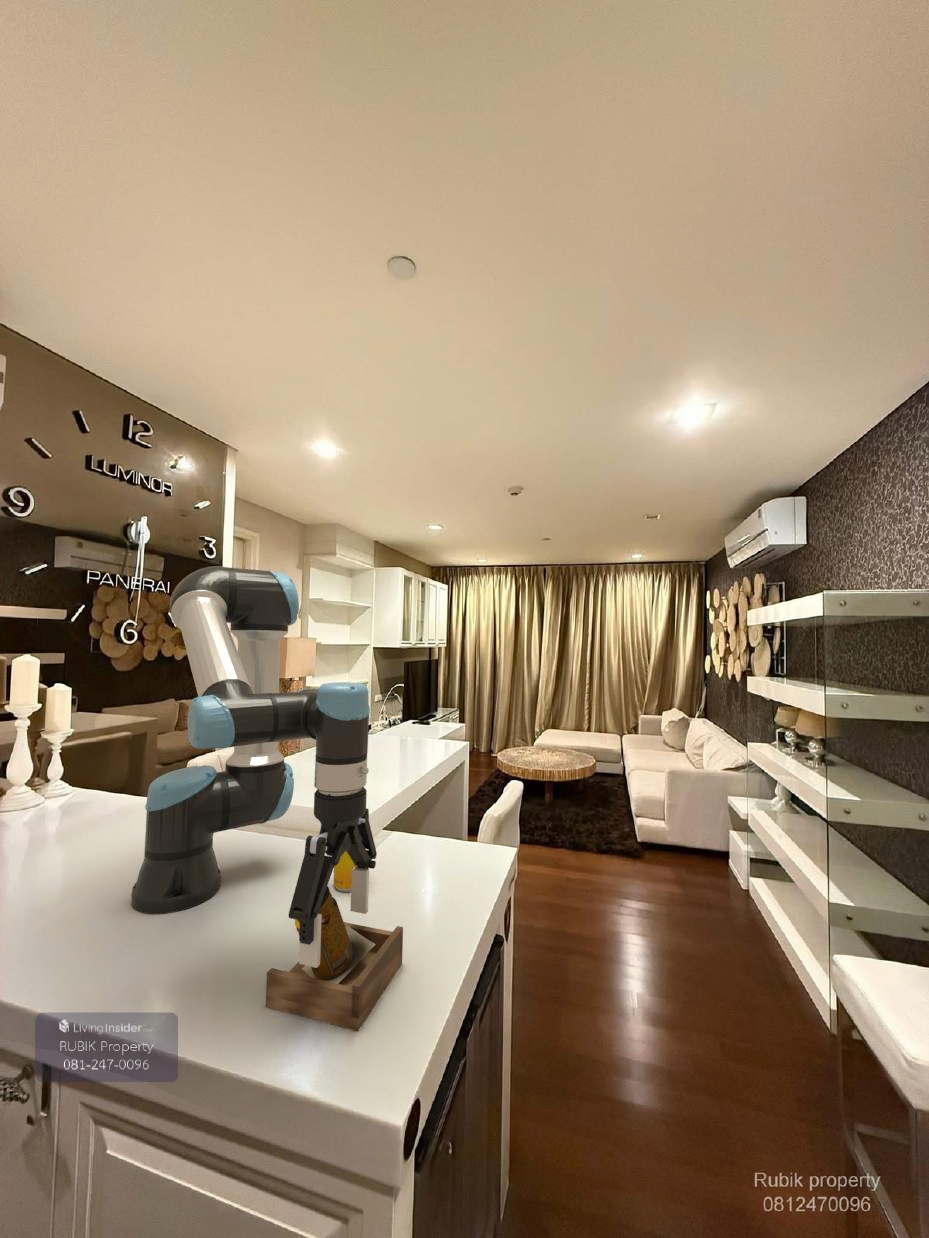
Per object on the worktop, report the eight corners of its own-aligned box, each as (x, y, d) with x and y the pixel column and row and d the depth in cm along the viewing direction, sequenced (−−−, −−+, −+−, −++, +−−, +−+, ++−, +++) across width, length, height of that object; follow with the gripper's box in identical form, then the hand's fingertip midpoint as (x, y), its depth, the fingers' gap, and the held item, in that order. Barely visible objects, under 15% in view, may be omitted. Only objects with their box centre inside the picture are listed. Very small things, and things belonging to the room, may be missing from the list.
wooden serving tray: (265, 1006, 67) (266, 964, 68) (322, 946, 81) (323, 911, 81) (358, 1031, 63) (359, 986, 64) (402, 963, 77) (403, 927, 77)
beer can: (356, 895, 97) (358, 817, 98) (327, 891, 98) (330, 814, 99) (368, 880, 103) (370, 807, 104) (341, 877, 104) (343, 804, 105)
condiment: (301, 969, 73) (276, 902, 70) (348, 926, 79) (326, 862, 76) (329, 994, 68) (303, 922, 65) (376, 946, 74) (354, 878, 71)
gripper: (314, 819, 61) (309, 999, 60) (398, 769, 84) (395, 897, 83) (262, 812, 63) (256, 986, 62) (359, 765, 87) (355, 890, 86)
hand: (336, 935), depth 73 cm, fingers open, 13 cm apart
